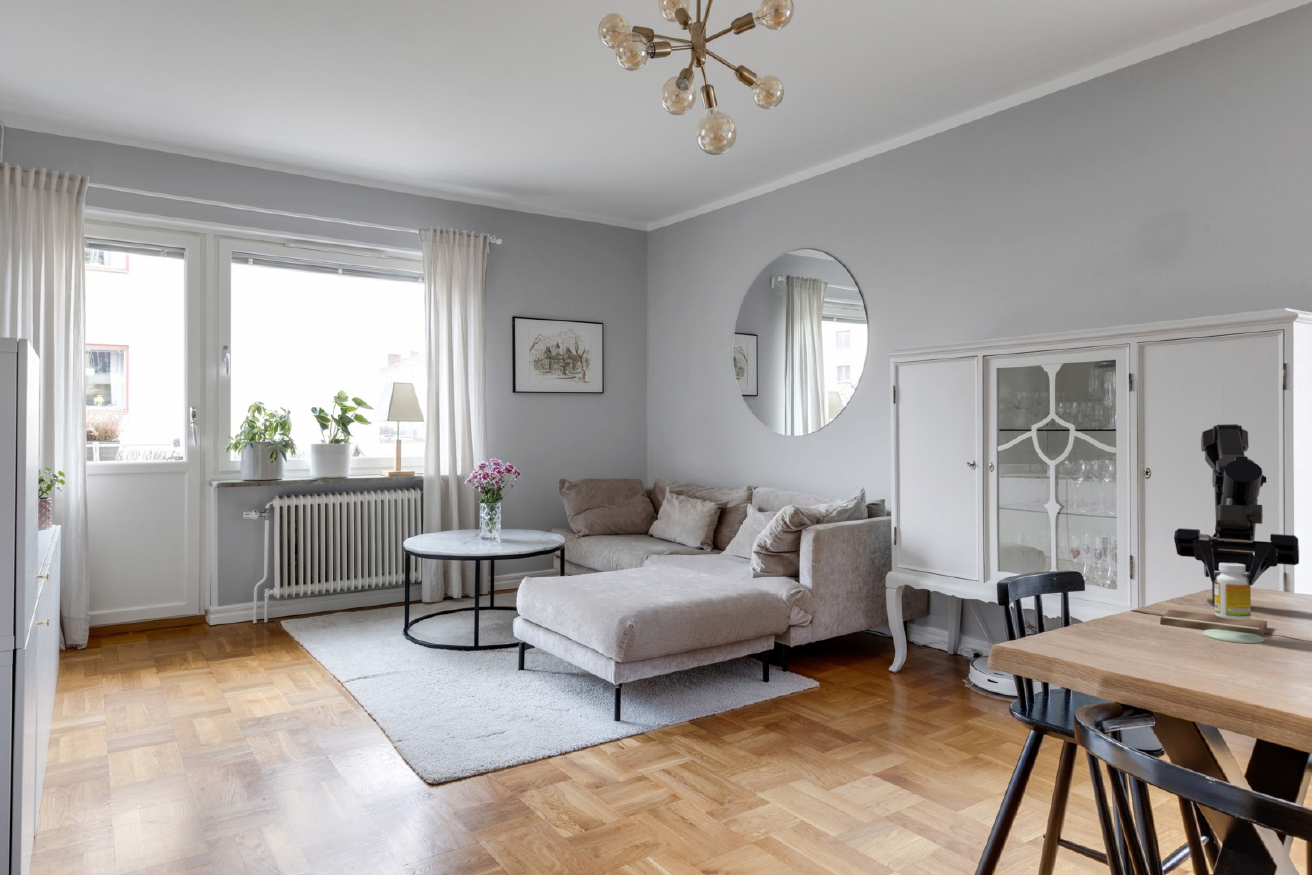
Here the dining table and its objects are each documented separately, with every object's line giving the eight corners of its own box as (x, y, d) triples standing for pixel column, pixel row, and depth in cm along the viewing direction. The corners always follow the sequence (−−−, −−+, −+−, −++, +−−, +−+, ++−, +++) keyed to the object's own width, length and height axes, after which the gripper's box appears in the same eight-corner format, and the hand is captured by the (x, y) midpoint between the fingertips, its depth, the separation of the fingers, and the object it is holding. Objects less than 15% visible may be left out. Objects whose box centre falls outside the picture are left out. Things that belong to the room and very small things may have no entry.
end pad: (1198, 629, 153) (1198, 627, 153) (1255, 633, 149) (1255, 631, 149) (1210, 640, 144) (1210, 638, 144) (1271, 645, 141) (1271, 642, 141)
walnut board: (1160, 623, 157) (1160, 617, 157) (1169, 615, 165) (1169, 609, 165) (1262, 636, 147) (1262, 629, 147) (1267, 627, 154) (1266, 620, 154)
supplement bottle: (1257, 618, 145) (1257, 565, 145) (1238, 621, 143) (1237, 567, 143) (1227, 612, 150) (1226, 561, 150) (1207, 615, 148) (1207, 562, 148)
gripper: (1175, 486, 156) (1165, 549, 148) (1297, 490, 144) (1294, 559, 135) (1182, 523, 162) (1173, 586, 154) (1300, 530, 150) (1297, 598, 141)
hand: (1231, 582), depth 146 cm, fingers closed on supplement bottle, 5 cm apart
